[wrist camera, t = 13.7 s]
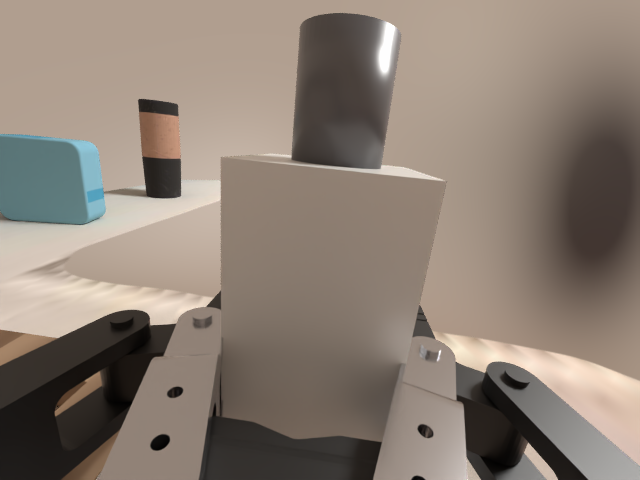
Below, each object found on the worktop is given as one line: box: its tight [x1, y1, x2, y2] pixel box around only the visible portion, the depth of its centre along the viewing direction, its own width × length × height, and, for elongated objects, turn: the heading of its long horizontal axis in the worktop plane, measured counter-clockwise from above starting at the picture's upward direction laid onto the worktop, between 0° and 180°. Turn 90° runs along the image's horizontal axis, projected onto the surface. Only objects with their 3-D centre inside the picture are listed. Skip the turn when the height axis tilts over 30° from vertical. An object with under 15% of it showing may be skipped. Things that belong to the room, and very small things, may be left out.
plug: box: [221, 13, 447, 442], centre depth 10 cm, size 4×4×16 cm
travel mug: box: [138, 99, 181, 198], centre depth 67 cm, size 8×8×20 cm
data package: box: [0, 134, 106, 225], centre depth 45 cm, size 12×4×12 cm, turn 95°
